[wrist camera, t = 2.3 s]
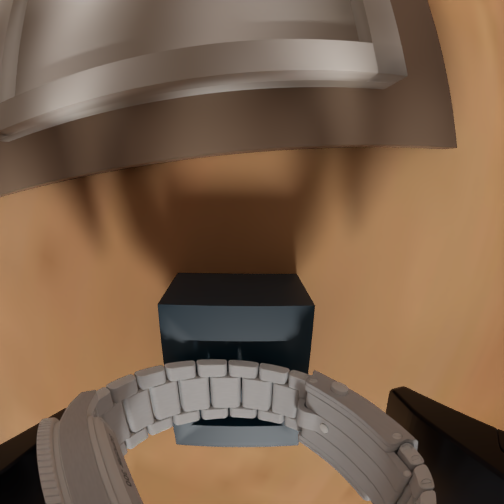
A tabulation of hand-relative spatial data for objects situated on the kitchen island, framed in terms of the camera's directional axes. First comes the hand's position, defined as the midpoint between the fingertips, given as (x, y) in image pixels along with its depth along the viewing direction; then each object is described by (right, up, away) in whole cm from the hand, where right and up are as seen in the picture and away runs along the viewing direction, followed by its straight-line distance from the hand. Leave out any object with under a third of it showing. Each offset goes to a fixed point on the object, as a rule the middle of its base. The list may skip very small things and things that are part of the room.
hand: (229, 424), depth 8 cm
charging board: (-4, +16, +1) cm, 17 cm away
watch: (0, +1, +5) cm, 5 cm away
